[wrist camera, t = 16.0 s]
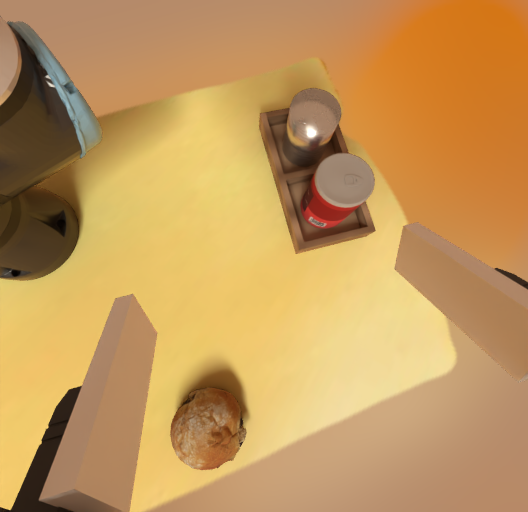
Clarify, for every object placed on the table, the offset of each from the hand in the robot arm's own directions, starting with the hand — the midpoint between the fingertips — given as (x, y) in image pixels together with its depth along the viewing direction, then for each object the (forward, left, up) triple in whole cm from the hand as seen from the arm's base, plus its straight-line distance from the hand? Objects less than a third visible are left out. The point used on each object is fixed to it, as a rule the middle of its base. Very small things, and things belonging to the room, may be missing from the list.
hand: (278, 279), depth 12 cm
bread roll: (+5, -19, -30) cm, 36 cm away
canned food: (0, +19, -29) cm, 34 cm away
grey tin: (-9, +26, -30) cm, 41 cm away
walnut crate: (-4, +23, -30) cm, 37 cm away
